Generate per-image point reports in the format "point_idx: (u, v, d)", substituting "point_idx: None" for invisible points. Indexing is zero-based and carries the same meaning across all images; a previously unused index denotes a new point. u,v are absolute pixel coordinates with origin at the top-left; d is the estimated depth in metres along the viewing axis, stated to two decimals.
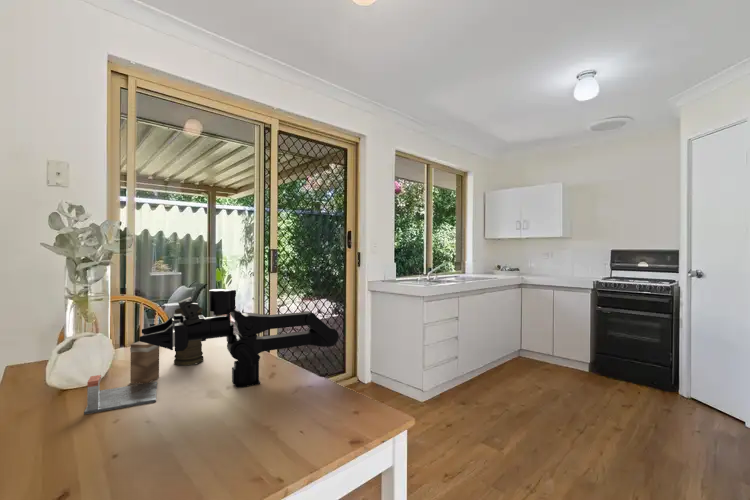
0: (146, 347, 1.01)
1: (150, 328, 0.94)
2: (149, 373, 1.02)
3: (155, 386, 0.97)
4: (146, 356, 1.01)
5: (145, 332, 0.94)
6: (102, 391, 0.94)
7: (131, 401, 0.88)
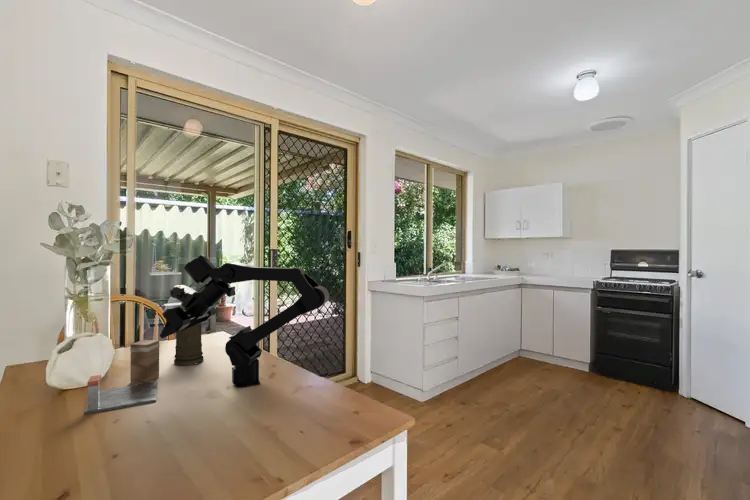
0: (146, 347, 1.01)
1: None
2: (149, 373, 1.02)
3: (155, 386, 0.97)
4: (146, 356, 1.01)
5: (183, 328, 1.08)
6: (102, 391, 0.94)
7: (131, 401, 0.88)
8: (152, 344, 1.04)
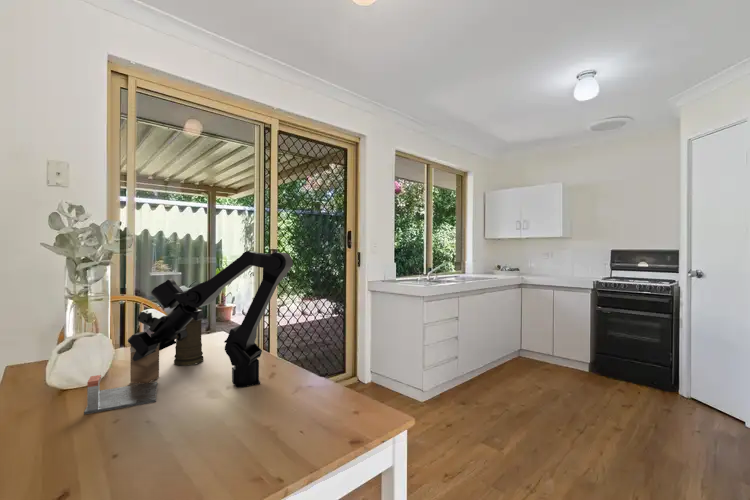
0: None
1: None
2: (149, 373, 1.02)
3: (155, 386, 0.97)
4: (146, 356, 1.01)
5: None
6: (102, 391, 0.94)
7: (131, 401, 0.88)
8: None
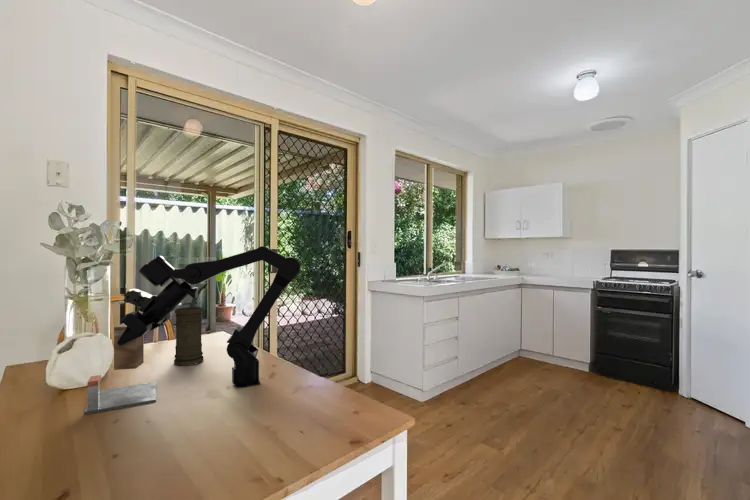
0: None
1: None
2: (137, 357, 0.95)
3: (155, 386, 0.97)
4: (134, 339, 0.94)
5: None
6: (102, 391, 0.94)
7: (131, 401, 0.88)
8: None
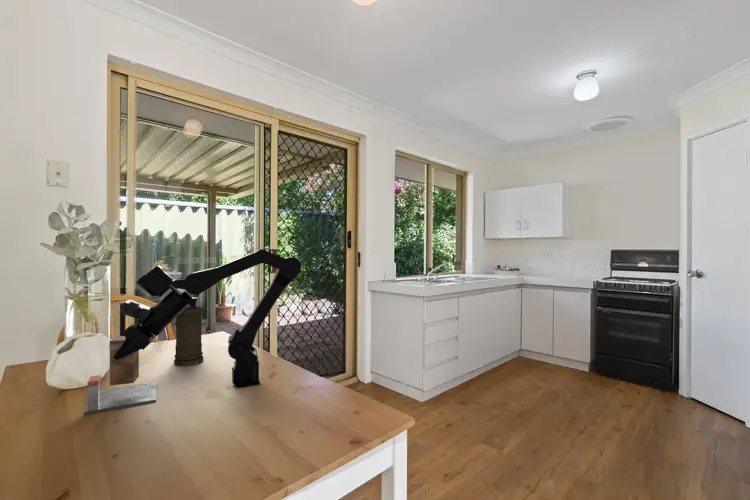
0: None
1: None
2: (134, 371, 0.91)
3: (155, 386, 0.97)
4: None
5: None
6: (102, 391, 0.94)
7: (131, 401, 0.88)
8: None
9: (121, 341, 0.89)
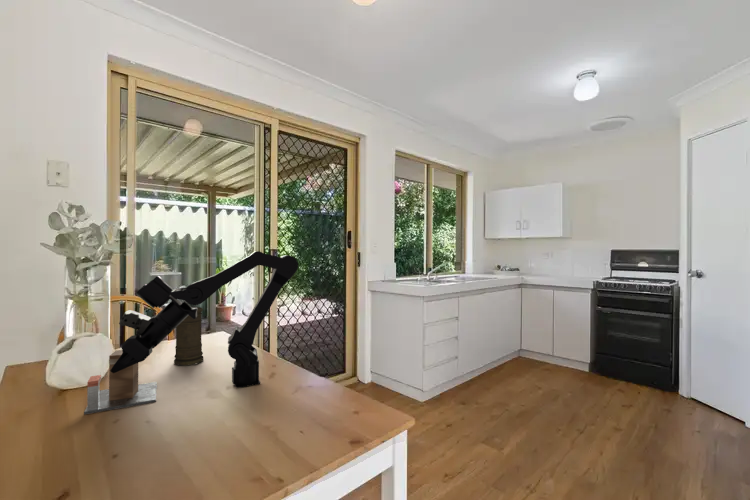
0: None
1: None
2: (133, 386, 0.91)
3: (155, 386, 0.97)
4: (131, 367, 0.90)
5: None
6: (102, 391, 0.94)
7: (131, 401, 0.88)
8: None
9: None
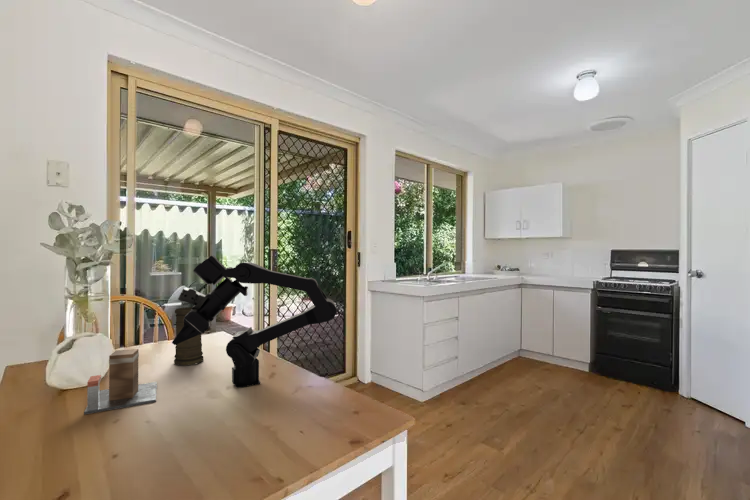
0: (131, 357, 0.90)
1: None
2: (133, 386, 0.91)
3: (155, 386, 0.97)
4: (131, 367, 0.90)
5: None
6: (102, 391, 0.94)
7: (131, 401, 0.88)
8: (135, 353, 0.92)
9: (121, 356, 0.89)
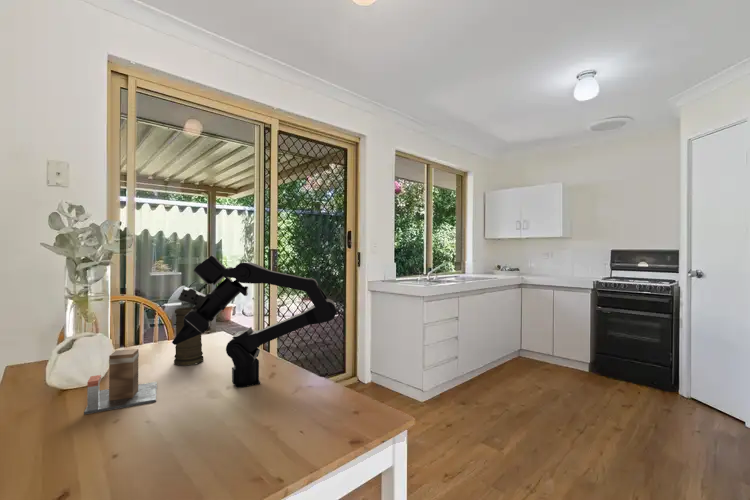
0: (131, 357, 0.90)
1: None
2: (133, 386, 0.91)
3: (155, 386, 0.97)
4: (131, 367, 0.90)
5: None
6: (102, 391, 0.94)
7: (131, 401, 0.88)
8: (135, 353, 0.92)
9: (121, 356, 0.89)
